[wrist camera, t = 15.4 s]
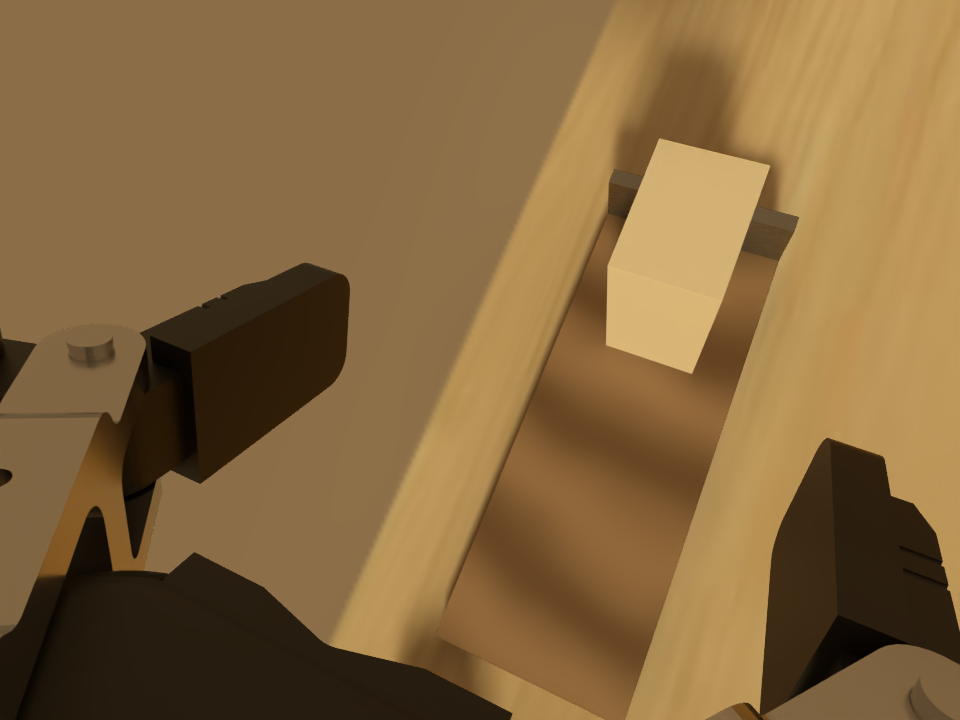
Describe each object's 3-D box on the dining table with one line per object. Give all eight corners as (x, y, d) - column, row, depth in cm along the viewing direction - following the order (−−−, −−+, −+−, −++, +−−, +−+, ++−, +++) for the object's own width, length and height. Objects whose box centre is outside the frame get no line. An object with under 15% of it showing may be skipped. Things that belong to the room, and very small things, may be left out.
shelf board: (612, 215, 39) (613, 201, 37) (776, 261, 36) (783, 247, 35) (441, 633, 33) (434, 635, 31) (621, 721, 30) (622, 727, 29)
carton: (691, 374, 33) (722, 300, 25) (606, 345, 35) (607, 265, 26) (730, 265, 35) (771, 161, 26) (646, 241, 36) (660, 134, 28)
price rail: (614, 198, 37) (615, 166, 34) (784, 244, 35) (800, 213, 32) (608, 213, 37) (608, 182, 34) (778, 260, 34) (794, 231, 32)
